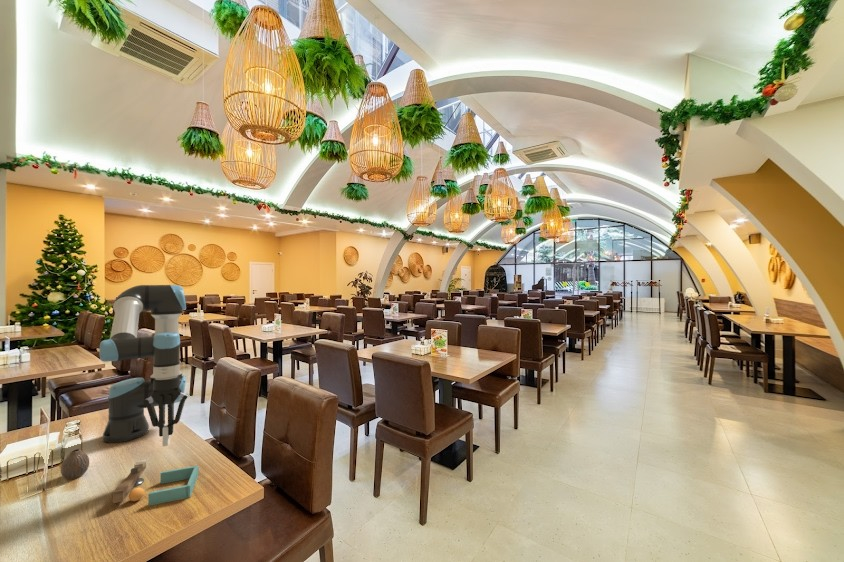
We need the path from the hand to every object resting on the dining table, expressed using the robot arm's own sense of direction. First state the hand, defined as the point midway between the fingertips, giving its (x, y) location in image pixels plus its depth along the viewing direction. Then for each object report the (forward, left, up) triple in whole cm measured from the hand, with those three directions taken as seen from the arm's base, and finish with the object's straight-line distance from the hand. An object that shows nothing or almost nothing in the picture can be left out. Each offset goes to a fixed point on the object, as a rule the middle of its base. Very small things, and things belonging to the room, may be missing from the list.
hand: (166, 444), depth 121 cm
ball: (+16, -4, -8) cm, 18 cm away
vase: (-8, -28, -10) cm, 30 cm away
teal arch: (+14, +5, -10) cm, 17 cm away
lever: (+8, -8, -9) cm, 14 cm away
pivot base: (+5, -8, -10) cm, 13 cm away
